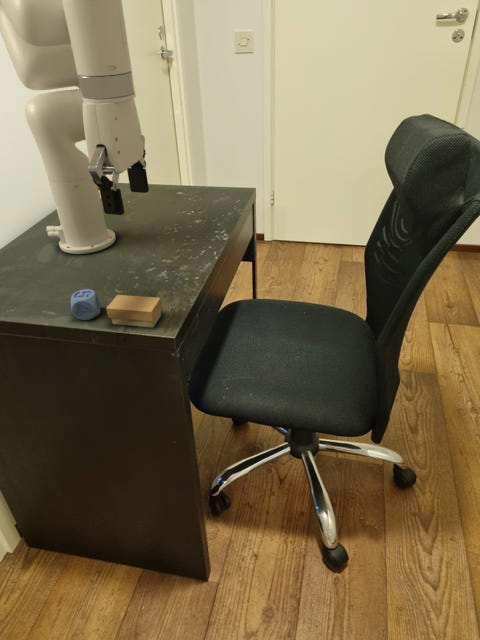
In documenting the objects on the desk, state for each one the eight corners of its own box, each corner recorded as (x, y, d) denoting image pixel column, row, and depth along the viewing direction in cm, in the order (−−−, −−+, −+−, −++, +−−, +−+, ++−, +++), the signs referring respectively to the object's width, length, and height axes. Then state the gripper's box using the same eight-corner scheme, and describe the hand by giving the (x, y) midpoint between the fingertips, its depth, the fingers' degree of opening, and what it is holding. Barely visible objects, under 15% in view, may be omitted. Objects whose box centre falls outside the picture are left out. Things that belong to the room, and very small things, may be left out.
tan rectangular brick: (110, 325, 79) (105, 308, 77) (120, 311, 83) (117, 294, 81) (154, 328, 78) (151, 311, 76) (163, 314, 81) (160, 297, 79)
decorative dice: (98, 319, 81) (92, 299, 79) (74, 321, 81) (68, 301, 78) (101, 307, 84) (96, 287, 82) (79, 309, 84) (73, 289, 82)
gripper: (110, 77, 75) (129, 183, 84) (50, 98, 61) (81, 222, 71) (154, 77, 73) (168, 185, 83) (103, 99, 59) (126, 225, 69)
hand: (128, 202), depth 77 cm, fingers open, 9 cm apart
